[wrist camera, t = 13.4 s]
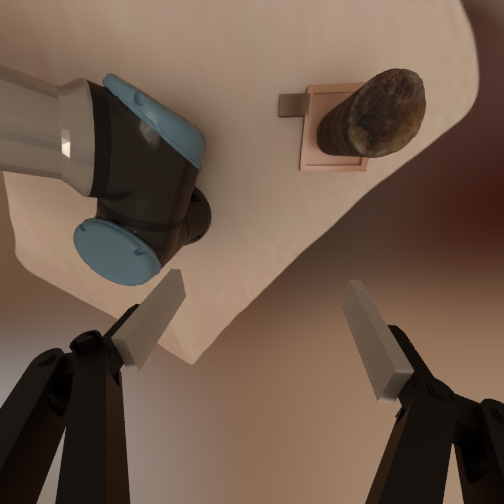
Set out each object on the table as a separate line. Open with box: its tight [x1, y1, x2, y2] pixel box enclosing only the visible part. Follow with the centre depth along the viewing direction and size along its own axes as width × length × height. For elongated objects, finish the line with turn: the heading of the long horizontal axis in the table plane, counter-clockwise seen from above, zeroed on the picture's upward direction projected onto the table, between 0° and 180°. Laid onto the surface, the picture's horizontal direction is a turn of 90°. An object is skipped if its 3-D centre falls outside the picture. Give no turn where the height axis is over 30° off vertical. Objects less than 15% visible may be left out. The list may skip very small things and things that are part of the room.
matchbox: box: [279, 93, 310, 117], centre depth 35 cm, size 5×3×2 cm, turn 92°
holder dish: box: [299, 83, 369, 171], centre depth 36 cm, size 12×13×2 cm
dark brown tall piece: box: [317, 69, 426, 158], centre depth 27 cm, size 8×7×20 cm
